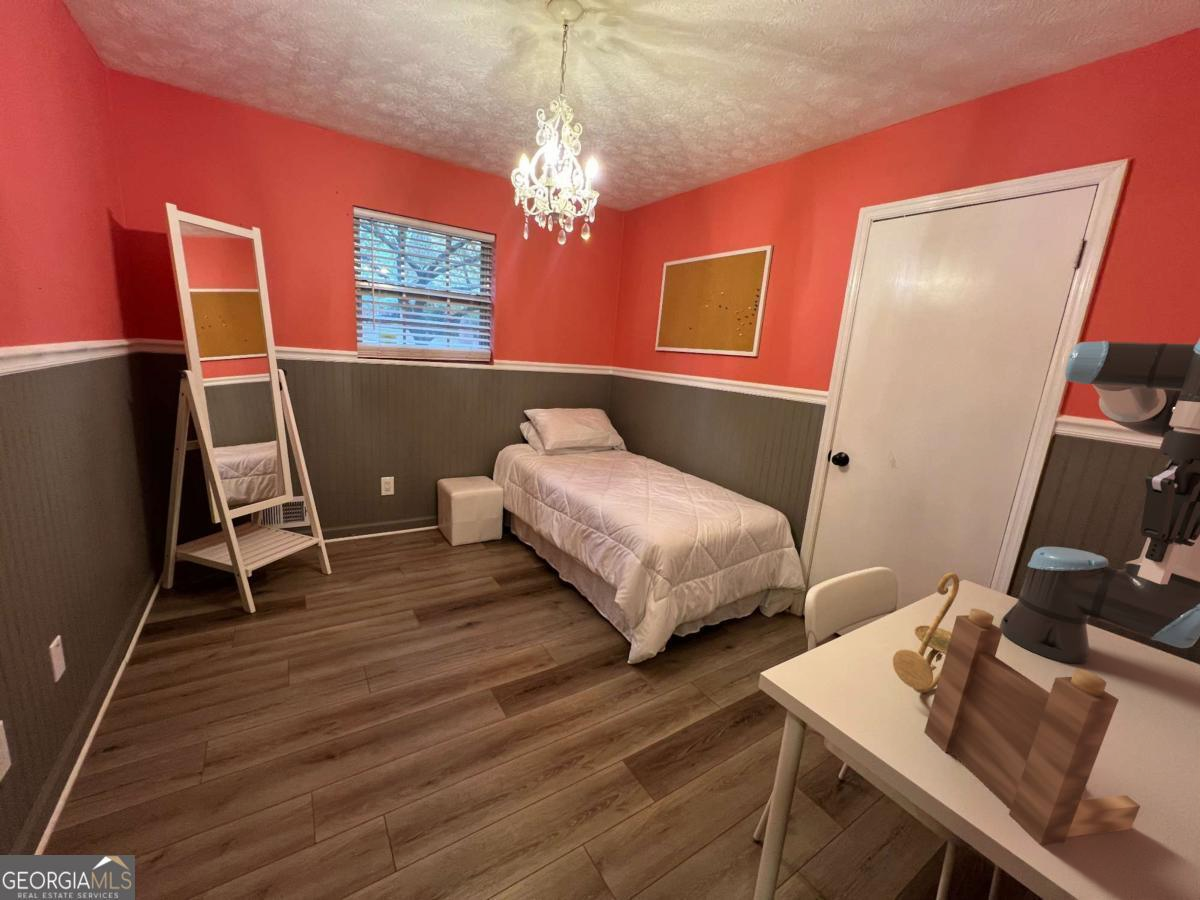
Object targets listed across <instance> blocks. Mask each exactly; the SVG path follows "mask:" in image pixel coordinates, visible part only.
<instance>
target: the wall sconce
mask: <svg viewBox="0 0 1200 900" xmlns="http://www.w3.org/2000/svg"><path fill="white" fill-rule="evenodd" d="M951 579H952V586H951V590H950V592H949V587H947V586H946V585H947V583H948V582H949V581H950V580H951ZM936 588H937V589H936V591H937V594H939V595H941V596H945V595H947V593H948V592H949V594H948V597H947V598H946V600H945V602H944V604H943V605H942V607H941V608H940V610H939V612H938V613H937V615H936V616H935V618H934V619H933V621H932V622H931V624H930V625H917V626H916V627H914V630H913V632H914V635H915V637H916V638H917V639H918V640H919V641H920V642H921V644H920V646H919V648H918V651H915V650H912V649H908V648H903V649H902V648H901V649H899V650H898V651H896V652H895V653H894V654H893V657H892V667H893V669H894V672H895V674H896V676H897V677H898V678H899V679H900V681H902V683H904V684H905V685H907V686H908V687H910V688H912V689H913V690H914V691H915V692H916V693H918V694H925V693H929V691H932V690H933V689H934V688H937V685H938V681H939V677H940V674H941V670H942V667H943V665H942V666H941V668H940V670H939V672H938V673H937V675H936V676H935V677H934V674H933V671H935V670H936V669H937V666H936V665H934V664H932V662H933V660H934V659H935V663H937V662H939V661H941V660H942V659H943V654H944V655H946V652H947V649H948V645H949V642H950V638H951V634H952V632H951V631H950V630H946V629H944V628H941V627H939V625H940V624H941V622H942V621H943V620H944V617H945V616H946V614H947V613H948V611H949V610H950V608H951V607H952V605H953V602H954V601H955V599H956V597H957V595H958V593H959V589H960V578H959V576H958V575H957V573H955V572H948V573H946V574H945V575H943V576H942V578H941V579H940V581H939V582H938V584H937V587H936ZM928 647H929V648H931V650H930V652H928V654H927V656H926V658H925V657H924V656H925V653H926V651H927V648H928Z"/></svg>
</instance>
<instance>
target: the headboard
mask: <svg viewBox="0 0 1200 900" xmlns="http://www.w3.org/2000/svg"><path fill="white" fill-rule="evenodd" d="M994 617H995V616H994V615H993V614H991V613H990V612H988V611H986V610H983V609H979V608H971V609H970V611H969V614H968V615H967V614H965V615H961V614H960V615H956V617H955V621H954V624H953V627H952V634H951V638H950V642H949V645H948V649H947V652H946V654H945V656H944V661H943V663H942V666H943V667H942V666H941V668H942V670H941V669H940V670H941V674H940V677H939V681H938V685H937V686H936V687H935V688H936V689H935V691H934V692H935V693H934V696H933V699H932V702H931V706H930V710H929V714H928V718H927V721H926V725H925V728H924V734H925V735H926V736H927V737H929V739H930V740H931V741H932V742H934V743H935V744H936V745H937V746H938V747H939V748H940V749H941V750H942V751H943V752H944V753H951V755H953V756H954V757H955V758H956V759H957V760H958V761H959V762H960V763H961V764H962V765H963V766H964V767H965V768H966V769H967V770H968V771H969V772H970V773H972V774H973V775H974V777H975V778H977V779H978V780H979V781H980V782H981V783H982V784H983V785H984V786H985V787H986V788H987V789H988V790H989V791H990V792H991V793H993V795H995V796H996V797H997V799H999V800H1000V801H1001V803H1003V805H1005V806H1006V807H1007V808H1008V809H1009V811H1008V812H1009V813H1008V815H1009V816H1010V817H1011V818H1012V819H1013V820H1014V821H1015V822H1016V823H1017V824H1018V825H1019V826H1020V827H1021V828H1022V829H1023V830H1024V831H1025V832H1026V833H1027V834H1028V835H1030V836H1031V838H1033V840H1035V841H1036V842H1037V844H1039V845H1040V846H1041V845H1048V844H1049V845H1050V844H1058V843H1065V842H1066V839H1067V838H1071V837H1079V836H1087V835H1096V834H1104V833H1112V832H1119V831H1127V830H1128V831H1129V830H1132V827H1133V826H1134V825H1133V824H1134V822H1135V820H1136V818H1137V816H1138V813H1139V810H1140V808H1141V805H1140V804H1139V803H1137V802H1136V801H1135V800H1134V799H1132V798H1131V797H1130V796H1128V795H1120V796H1119V795H1118V796H1109V797H1099V798H1091V799H1090V798H1089V799H1082V797H1083V794H1084V791H1086V786H1087V784H1088V782H1089V779H1090V777H1091V774H1092V771H1093V768H1094V765H1095V763H1096V761H1097V758H1098V755H1099V752H1100V749H1101V747H1102V745H1103V743H1104V738H1105V737H1106V733H1107V732H1108V729H1109V726H1110V723H1111V721H1112V718H1113V715H1114V713H1115V710H1116V708H1117V705H1118V702H1119V698H1117V697H1116V696H1114V695H1112V694H1111V693H1109V692H1108V691H1106V690H1105V689H1106V686H1107V681H1106V680H1105V679H1103V678H1102V677H1101V676H1099V675H1096V674H1095V673H1092V672H1090V671H1088V670H1084V669H1075V670H1074V672H1073V674H1072V676H1063V677H1061V676H1060V677H1054V681H1053V684H1052V687H1051V690H1050V692H1049V691H1048V690H1046V689H1045V688H1043V687H1042V686H1040V685H1039V684H1037V683H1036V682H1035V681H1033V680H1031V679H1029V678H1028V677H1027V676H1025V675H1023V674H1022V673H1021V672H1019V671H1018V670H1016V669H1014V668H1013V667H1012V666H1010V665H1008V664H1007V663H1006V662H1004V661H1003V660H1002V659H999V658H998V657H997V656H996V655H997V652H998V648H999V645H1000V643H1001V639H1002V636H1003V633H1002V632H1003V630H1002V629H1000V628H999V626H997V625H995V624H994V623H993V621H994Z"/></svg>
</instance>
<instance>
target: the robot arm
mask: <svg viewBox="0 0 1200 900" xmlns="http://www.w3.org/2000/svg"><path fill="white" fill-rule="evenodd" d="M1064 370H1065V371H1064V372H1065V373H1064V376H1065V379H1066V380H1067V381H1068V382H1070V383H1074V384H1075V383H1077V384H1081V385H1082V384H1083V385H1086V386H1087V385H1092V386H1093V388H1094V389H1095V391H1096V393H1097V394H1098V397H1099V399H1098V406H1099V409H1100V410H1101V412H1102V414H1103V415H1104V416H1105V417H1106V418H1108V420H1110V421H1112V422H1114V424H1115V423H1116V424H1118V425H1119V426H1121V427H1124V428H1126V429H1129V430H1130V431H1134V432H1136V433H1140V434H1143V435H1148V436H1152V437H1159V438H1162V441H1161V445H1160V447H1159V452H1160V453H1161V454H1163V455H1165V456H1168V457H1169V459H1168V460H1167V462H1166V463H1165V465H1164V466H1163V469H1162V472H1161V473H1160V474H1158V475H1153V474H1148V475H1146V477H1145V478H1144V479H1145V480H1144V481H1145V485H1146V494H1145V500H1144V506H1143V512H1142V513H1143V514H1142V520H1141V525H1140V534H1141V536H1143V537H1147V539H1146V541H1145V544H1144V546H1143V548H1142V551H1141V554H1140V556H1139V557H1138V558H1136V559H1134V560H1129V561H1126V562H1125V564H1124V567H1123V569H1118V568H1116V567H1111V566H1109V565H1110V563H1109V560H1108V558H1107V557H1104V556H1102V555H1098V554H1096V553H1094V552H1091V551H1086V550H1081V549H1076V548H1071V547H1070V548H1069V547H1060V546H1042V547H1037V549H1035V550H1034V552H1032V556H1031V558H1030V560H1029V562H1028V563H1027V570H1026V573H1025V577H1024V579H1023V582H1022V586H1021V590H1020V593H1019V597H1018V599H1017V601H1016V603H1015V604H1014V605H1013V606H1012V607H1011V608H1010V609H1009V611H1008V612H1007V613H1005V615H1004V616H1003V617H1002V618H1001V621H1000V624H999V626H998V628H1000V629H1002V630H1003V632H1002V635H1004V636H1005V638H1007V639H1009V640H1010V641H1011V642H1013V643H1014V644H1016V645H1018V646H1020V647H1021V648H1024V649H1025V650H1028V651H1030V652H1032V653H1034V654H1037V655H1039V656H1042V657H1045V658H1048V659H1052V660H1054V661H1059V662H1063V663H1068V664H1084V663H1086V662H1087V660H1088V658H1089V655H1090V651H1091V649H1090V645H1089V644H1090V643H1089V636H1088V630H1087V629H1088V628H1087V624H1088V621H1089V618H1090V617H1091V618H1094V619H1097V620H1100V621H1101V622H1104V623H1107V624H1110V625H1112V626H1116V627H1118V628H1121V629H1124V630H1126V631H1129V632H1131V633H1134V634H1137V635H1140V636H1142V637H1146V638H1149V639H1150V640H1152V641H1158V642H1161V643H1163V644H1166V645H1169V646H1172V647H1176V648H1179V649H1186V648H1187V649H1188V648H1191V647H1193V646H1194V645H1195V644H1196V642H1197V641H1198V640H1199V638H1200V337H1199V339H1198V341H1197V343H1171V342H1170V343H1168V342H1167V343H1165V342H1163V343H1161V342H1160V343H1159V342H1135V341H1133V342H1129V341H1128V342H1126V341H1107V340H1102V341H1101V340H1100V341H1081V342H1079V343H1077V344H1075V346H1074V347H1073V348H1072V349H1071V351H1070V353H1069V357H1068V359H1067V361H1066V366H1065V369H1064Z"/></svg>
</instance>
